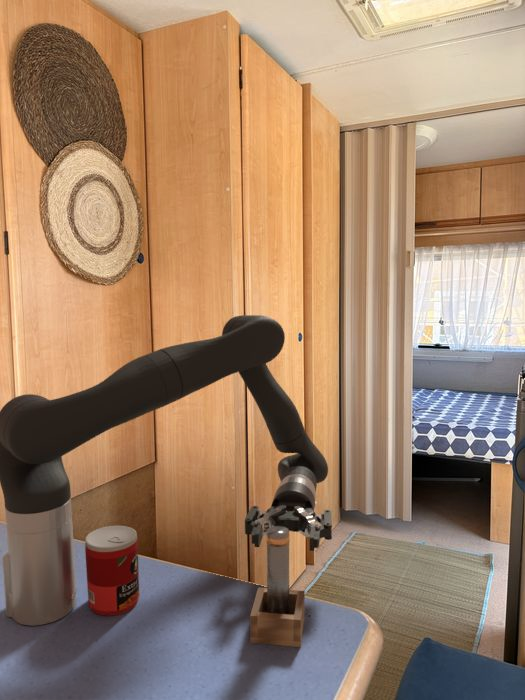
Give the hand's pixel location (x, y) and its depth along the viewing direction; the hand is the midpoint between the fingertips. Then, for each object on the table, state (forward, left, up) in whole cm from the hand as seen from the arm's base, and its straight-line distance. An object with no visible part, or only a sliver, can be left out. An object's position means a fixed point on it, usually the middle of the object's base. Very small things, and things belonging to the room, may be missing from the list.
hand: (284, 543), depth 82 cm
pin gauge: (0, -6, -9) cm, 11 cm away
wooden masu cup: (0, -6, -10) cm, 12 cm away
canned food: (-27, -3, -10) cm, 29 cm away
